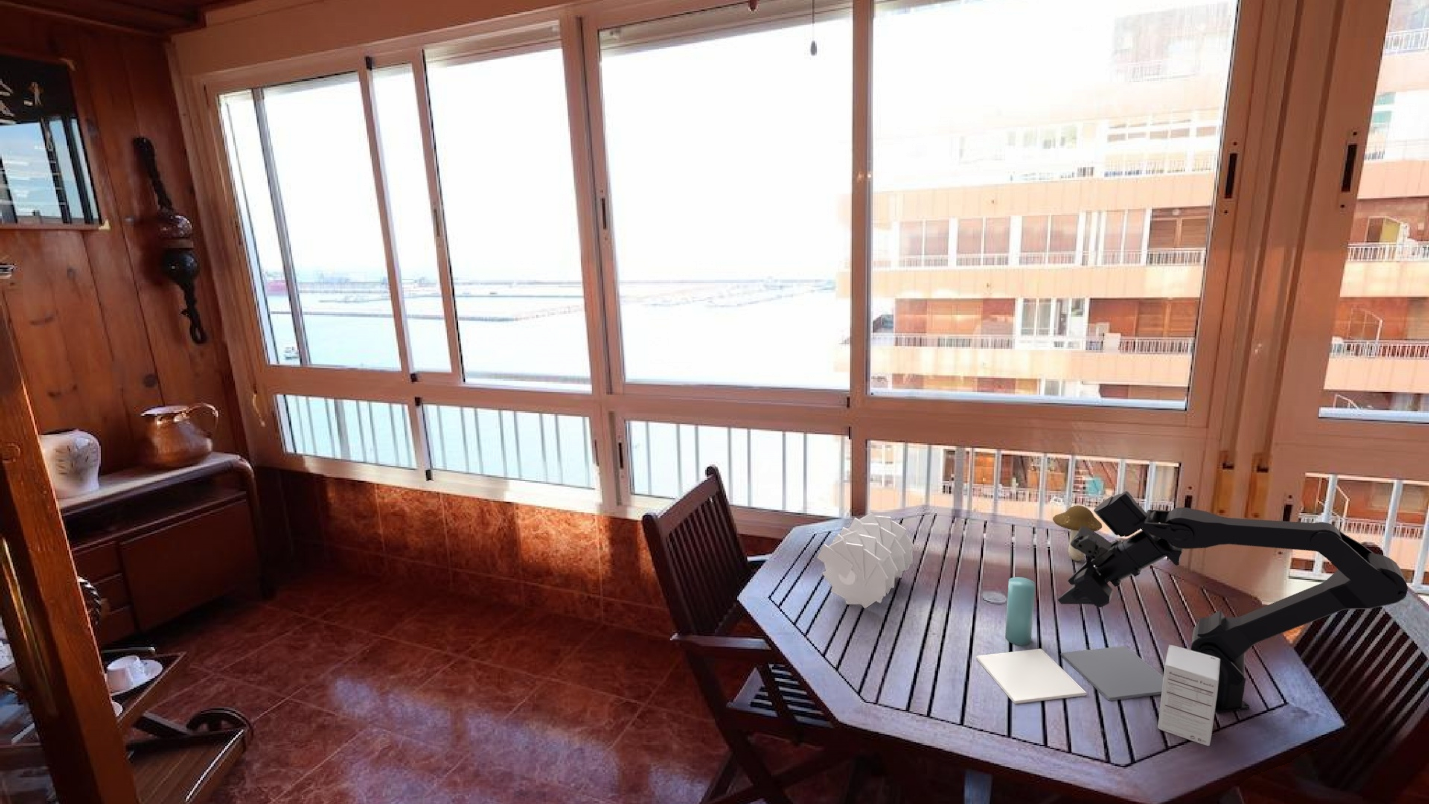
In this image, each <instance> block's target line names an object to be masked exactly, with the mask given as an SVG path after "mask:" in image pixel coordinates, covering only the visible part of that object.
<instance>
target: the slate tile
mask: <svg viewBox="0 0 1429 804" xmlns="http://www.w3.org/2000/svg"><path fill="white" fill-rule="evenodd" d="M1060 656H1061V658H1063V659H1064V661H1066V662H1067V663H1068V664H1069V665H1070V666H1071V667H1072V668H1074V669H1075V670H1076V671H1077V672H1078V674H1079V675H1081V676H1082V677H1083V678H1084V679H1085V680H1086V681H1087V682H1088V683H1090V684H1091V685H1092V686H1093V687H1094V688H1095V689H1096V691H1098V692H1099V693H1100V694H1102V696H1103V697H1104V698H1105V699H1107V700H1108V701H1115V700H1125V699H1126V700H1127V699H1132V698H1133V699H1134V698H1141V697H1149V696H1150V697H1151V696H1158V695H1162V686H1163V678H1164V675H1162V674H1161V673H1160V672H1159V671H1158V670H1156V669H1155V668H1154V667H1152V666H1151V665H1150V664H1149V663H1147V662H1146V660H1144V659H1142V657H1140V656H1138V655H1137V654H1136V653H1135V652H1134V651H1133V650H1131V649H1130V648H1129V647H1127V646H1126V645H1121V646H1120V645H1119V646H1113V647H1111V646H1110V647H1104V648H1103V647H1101V648H1094V649H1092V648H1091V649H1085V650H1084V649H1083V650H1075V651H1065V652H1061V653H1060Z"/></svg>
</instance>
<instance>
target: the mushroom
mask: <svg viewBox="0 0 1429 804" xmlns="http://www.w3.org/2000/svg"><path fill="white" fill-rule="evenodd" d="M1052 521H1053V523H1054V524H1056V525H1057V526H1059V527H1061V528H1064V529H1067V530H1070V535H1069V541H1068V555H1069V558H1070V559H1071V560H1073V561H1075V562H1080V561H1083V559H1084V557H1085V554H1084V553H1082V552H1080V551H1079V550H1077V549H1075V548H1073V547H1072V546H1071V545H1070V543H1071V541H1072V540H1073V538H1074V536H1075V535H1076V534H1077V532H1078V531H1079V530H1080V528H1081V527H1082V526H1085V527H1087V528H1089V529H1091V530H1092V531H1094V532H1098V531H1100V530H1101V529H1102V528H1103V523H1102V522H1101V521H1099V519H1097V518H1096V516H1095V515H1094V512H1093V511H1092V510H1090V509H1089V508H1088V507H1086V506H1084V505H1073V506H1071V507H1069V508H1068V509H1067V510H1065V512H1061V513H1058V514H1055V515H1054V516H1053V517H1052Z"/></svg>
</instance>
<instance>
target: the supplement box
mask: <svg viewBox="0 0 1429 804" xmlns="http://www.w3.org/2000/svg"><path fill="white" fill-rule="evenodd" d="M1219 670H1220V659H1219V658H1217V657H1214V656H1210V655H1207V654H1203V653H1199V652H1195V651H1192V650H1191V649H1189V648H1184V647H1181V646H1176V645H1173V644H1168V649H1167V651H1166V657H1165V664H1164V671H1163V676H1164V678H1163V686H1162V694H1160V695H1161V696H1160V706H1159V716H1158V722H1157V724H1158V725H1157V728H1158V729H1159V730H1160V731H1163V732H1166V733H1169V734H1172V735H1175V736H1178V737H1181V738H1183V739H1185V740H1186V739H1187V740H1189V741H1192V742H1194V743H1198V744H1201V745H1204V746H1207V747H1210V745H1211V740H1212V734H1213V726H1214V719H1215V712H1216V711H1215V706H1216V699H1217V691H1218V682H1219Z"/></svg>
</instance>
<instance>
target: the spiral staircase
mask: <svg viewBox="0 0 1429 804" xmlns="http://www.w3.org/2000/svg"><path fill="white" fill-rule="evenodd" d="M906 531H907V528H905V527H903V526H902V525H901V524H899V523H898V522H896V521H894V520H892V517H891V516H882V515H875V514H874V513H873V512H871V513H868V514H866V515H864V516H863V517H861V518H857V517H854V518H853V521H852V522H851V524H850V526H849V527H844V526H843V527H842V529H841V531H840V534H839V533H837V534H836V535H835V537H834V539H833V541H832V542H831V543H830V545H828V544H825V543H824V544H823V545H822V548H820V551H819V553H818V555H817V557H816V558H817V559H818V560H820V561H821V562H822V563H823V564H824V569H825V571H823V572H822V575H823V577H824V578H825V580H827V581H828V583H829V584H830V585H831V590H830V592H832V593H833V594H835V595H837V596H839V597H840V598H843V599H844V600H845V602H846V605H861V606H862V607H863V608H864V609H867V608H868V607H869V606H870V605H873V604H874V603H875V602H877V603H879V604H881V603H882V601H883V598H884V597H886V596H887V594H889V593H890V590H891V589H894V588H895V580H896V578H897V577H898V578H900V579H901V578H902V577H903V573H904V572H905V571H908V570H909V568H910V565H911V564H913V563H914V562H913V561H914V560H913V548H914V547H915V545H914V542H913V541H912V540H911V538H910V537H909V535H908V533H907V532H906Z"/></svg>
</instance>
